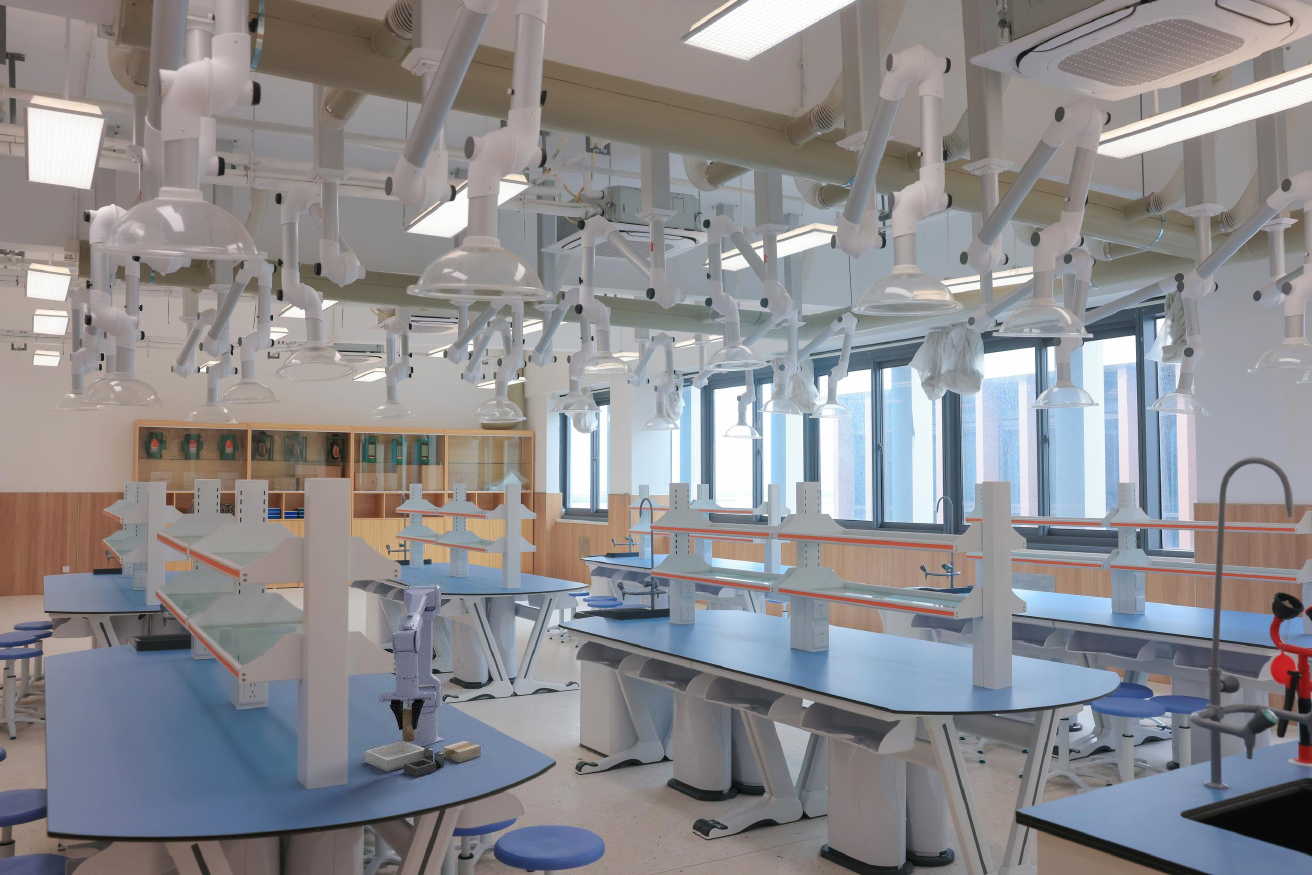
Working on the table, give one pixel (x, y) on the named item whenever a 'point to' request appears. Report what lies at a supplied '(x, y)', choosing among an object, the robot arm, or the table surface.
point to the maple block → (462, 751)
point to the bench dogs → (437, 757)
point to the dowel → (407, 725)
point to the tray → (393, 755)
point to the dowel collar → (420, 767)
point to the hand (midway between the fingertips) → (408, 728)
